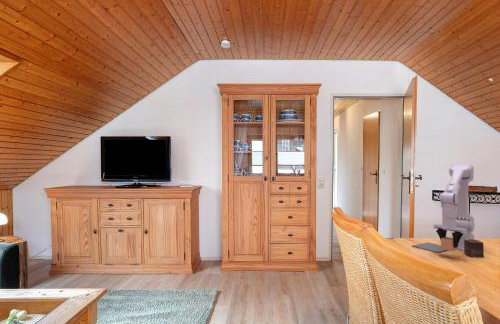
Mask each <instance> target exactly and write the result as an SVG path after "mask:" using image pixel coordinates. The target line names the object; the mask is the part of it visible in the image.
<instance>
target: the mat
mask: <svg viewBox="0 0 500 324" xmlns="http://www.w3.org/2000/svg"><path fill="white" fill-rule="evenodd" d="M412 246H413V247H412ZM411 247H412V248H416V249H420V250H424V251H428V252H432V253H436V254H440V253H444V252H449V250H445V249H441V244H436V243H432V242H424V243H423V242H422V243H418V244H413V245H411Z"/></svg>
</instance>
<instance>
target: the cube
mask: <svg viewBox="0 0 500 324" xmlns="http://www.w3.org/2000/svg"><path fill="white" fill-rule="evenodd" d="M440 245H441V249H445V250H449V251H451V252H454V251H458V250H459V249H458V247H457V248H454V246H453V237H450V236H446V237H445V238H441V240H440ZM449 251H448V252H449Z"/></svg>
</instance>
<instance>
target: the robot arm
mask: <svg viewBox="0 0 500 324" xmlns="http://www.w3.org/2000/svg"><path fill="white" fill-rule="evenodd" d="M448 169H449V170H448V172H449V173H448V174H449V175H450V182H448V183H446V185H445V189H444V191H443V192H441V193H440V197H439V199H440V200H439V201H440V207H441V213H442V214H441V216H442V219H441V220H442V221H441V223H442V224H439V223H433V224H432V225H433V227H432V228H433V229H436V231H435V232H436V233H437V235H438V237H439V240H440V241H441V238H445V237H447V233H448V232H451V235H452V238H453V246H454V248H457V247H458V250H461V251H464V239H472V240H475V235H474V233H473V232H474V231H475V225H476V224H475V217H474V216H473V215H472V214H471V213H468V212H469V209H468V208H469V185H470V182H473V181H474V174H475V173H474V166H473V165H472V164H450V166H449V168H448Z"/></svg>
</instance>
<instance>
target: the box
mask: <svg viewBox="0 0 500 324" xmlns="http://www.w3.org/2000/svg"><path fill="white" fill-rule="evenodd" d="M484 245H485V244H484V242H483V241H481V240H479V239H474V240H472V239H464V250H463V251H464V255H466V256H468V257H470V258H484V255H485V253H484V251H485V249H484V247H485V246H484Z"/></svg>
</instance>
